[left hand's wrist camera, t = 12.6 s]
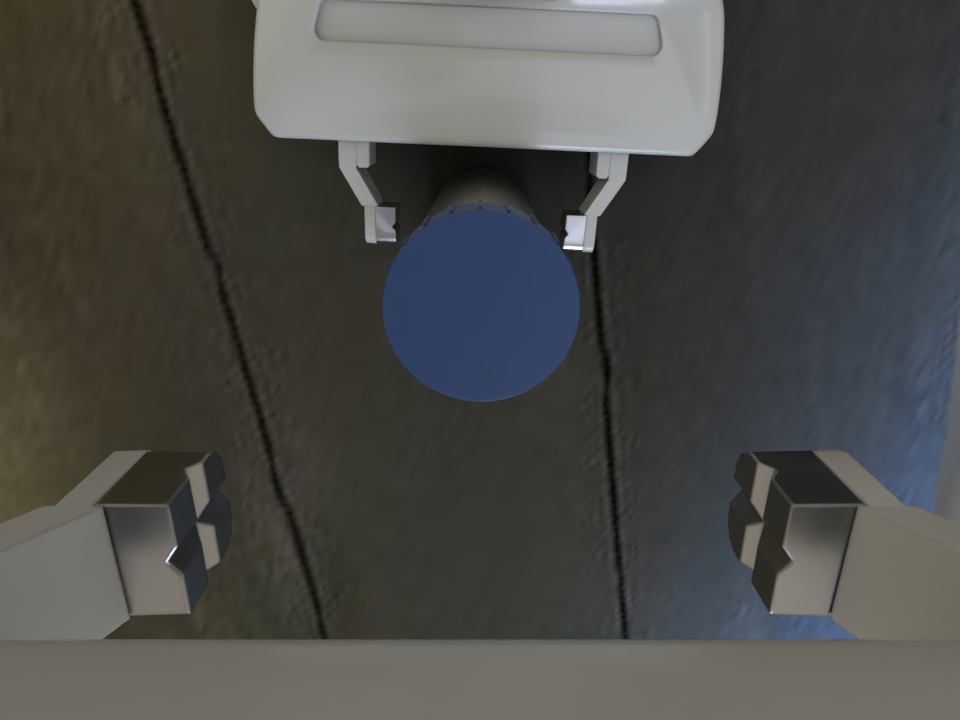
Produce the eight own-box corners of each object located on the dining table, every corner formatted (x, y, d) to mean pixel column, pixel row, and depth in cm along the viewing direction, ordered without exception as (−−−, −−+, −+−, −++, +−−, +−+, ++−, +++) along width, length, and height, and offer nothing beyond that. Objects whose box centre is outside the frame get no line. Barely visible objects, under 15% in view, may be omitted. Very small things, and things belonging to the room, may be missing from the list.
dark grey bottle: (455, 150, 35) (432, 186, 18) (545, 192, 36) (602, 262, 19) (417, 242, 37) (366, 350, 20) (504, 280, 37) (524, 413, 21)
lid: (429, 167, 19) (424, 173, 18) (607, 247, 20) (619, 261, 19) (361, 339, 21) (351, 359, 20) (526, 406, 22) (529, 430, 21)
